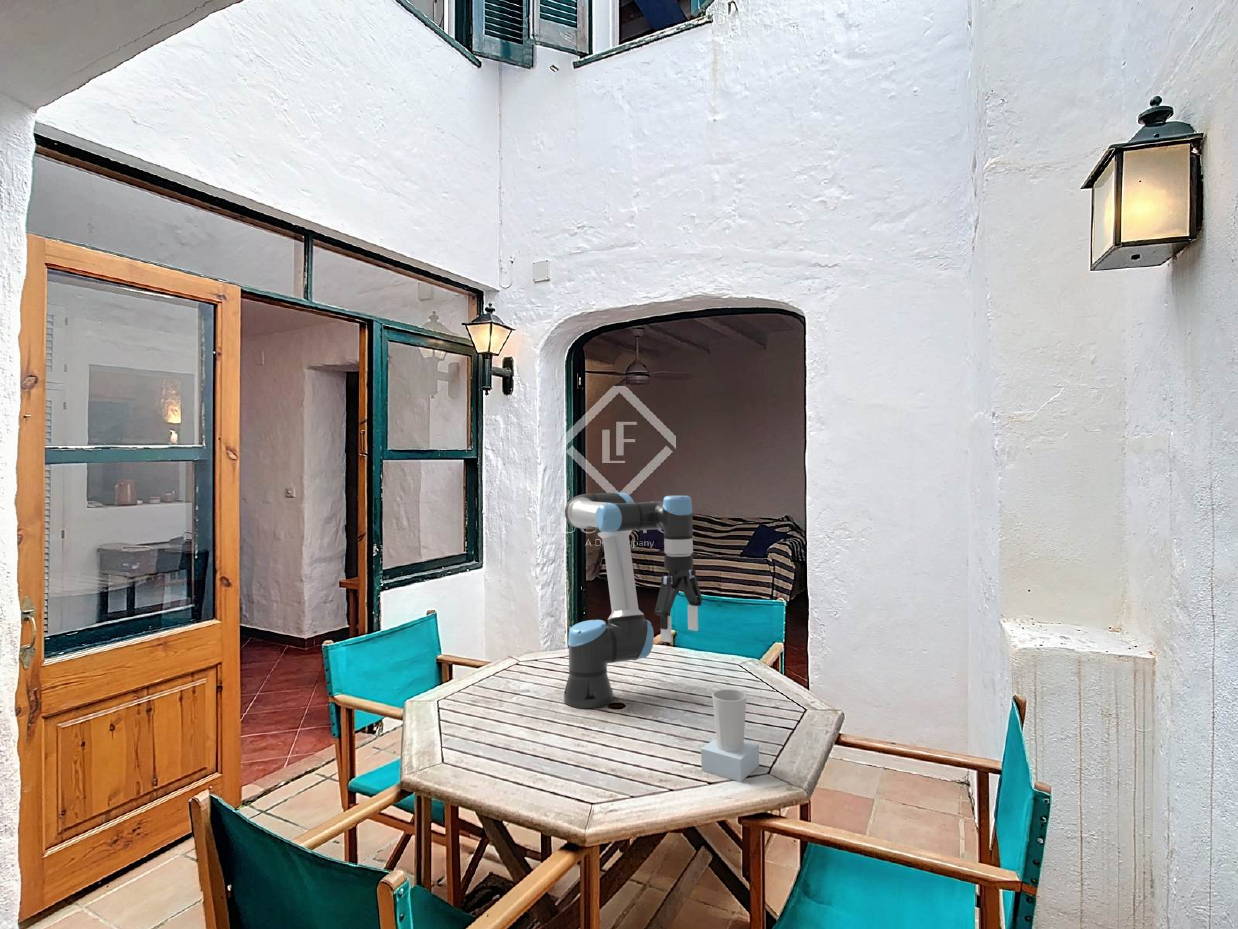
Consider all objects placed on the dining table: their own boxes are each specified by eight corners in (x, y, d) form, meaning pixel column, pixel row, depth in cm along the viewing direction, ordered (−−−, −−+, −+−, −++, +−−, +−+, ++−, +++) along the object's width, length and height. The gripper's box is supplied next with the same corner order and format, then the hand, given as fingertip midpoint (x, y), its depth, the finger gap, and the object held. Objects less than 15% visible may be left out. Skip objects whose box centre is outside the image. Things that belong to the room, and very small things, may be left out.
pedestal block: (721, 754, 157) (720, 734, 157) (759, 765, 151) (758, 743, 151) (701, 770, 149) (701, 748, 149) (740, 782, 143) (740, 759, 143)
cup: (706, 742, 153) (706, 692, 153) (735, 736, 155) (735, 687, 156) (723, 756, 145) (722, 703, 145) (754, 750, 148) (753, 698, 148)
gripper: (690, 548, 180) (691, 623, 180) (639, 559, 160) (641, 644, 160) (713, 550, 176) (715, 627, 175) (665, 561, 155) (666, 649, 155)
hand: (680, 635), depth 168 cm, fingers open, 13 cm apart
